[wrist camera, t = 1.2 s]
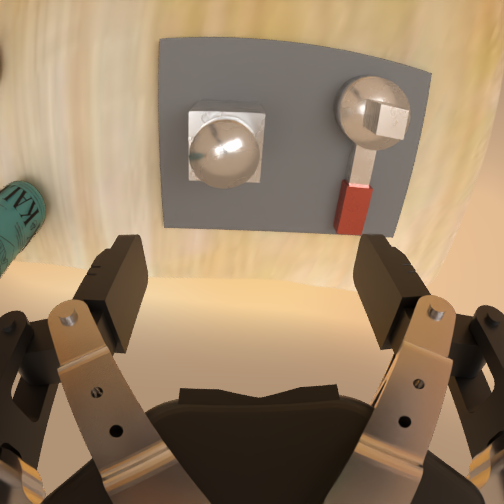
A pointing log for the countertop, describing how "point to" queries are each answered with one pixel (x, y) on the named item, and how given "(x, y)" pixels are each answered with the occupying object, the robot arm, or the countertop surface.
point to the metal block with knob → (226, 142)
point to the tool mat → (279, 134)
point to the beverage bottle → (18, 219)
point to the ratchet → (366, 141)
